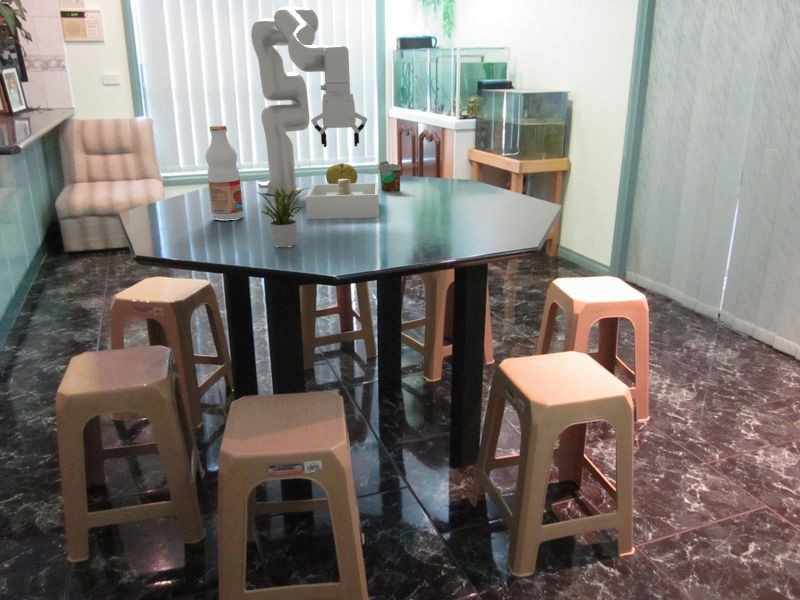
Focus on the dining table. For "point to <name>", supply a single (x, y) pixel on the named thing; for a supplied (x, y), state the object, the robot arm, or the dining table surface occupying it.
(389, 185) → the food container
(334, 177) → the fruit
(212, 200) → the fruit juice
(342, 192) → the peg
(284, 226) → the house plant
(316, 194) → the box
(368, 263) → the dining table surface
